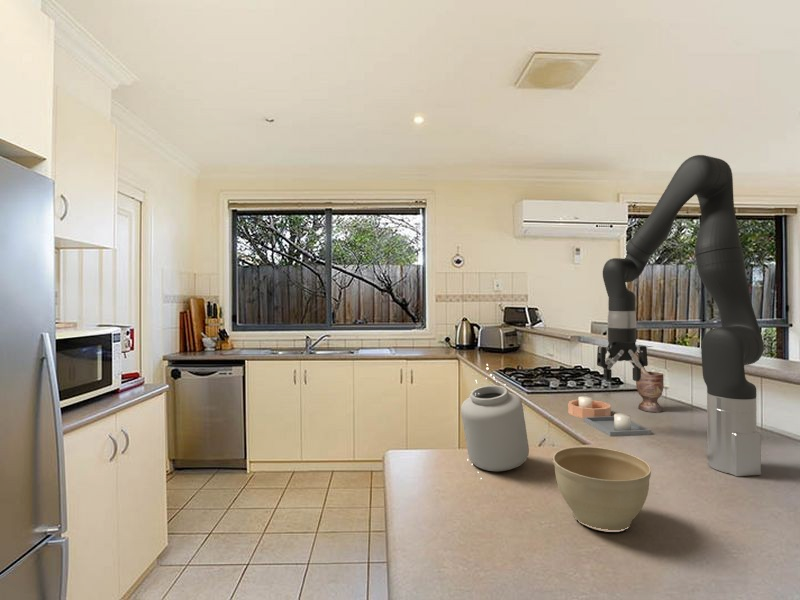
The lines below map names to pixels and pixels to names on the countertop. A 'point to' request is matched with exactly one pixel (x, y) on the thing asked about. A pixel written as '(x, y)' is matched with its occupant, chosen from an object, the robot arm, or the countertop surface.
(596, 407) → the bowl
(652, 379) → the mortar and pestle
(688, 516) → the countertop surface
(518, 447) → the jar
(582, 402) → the cream rounded lump
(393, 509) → the countertop surface
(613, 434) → the tray
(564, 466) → the planter bowl
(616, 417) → the cream rounded piece
